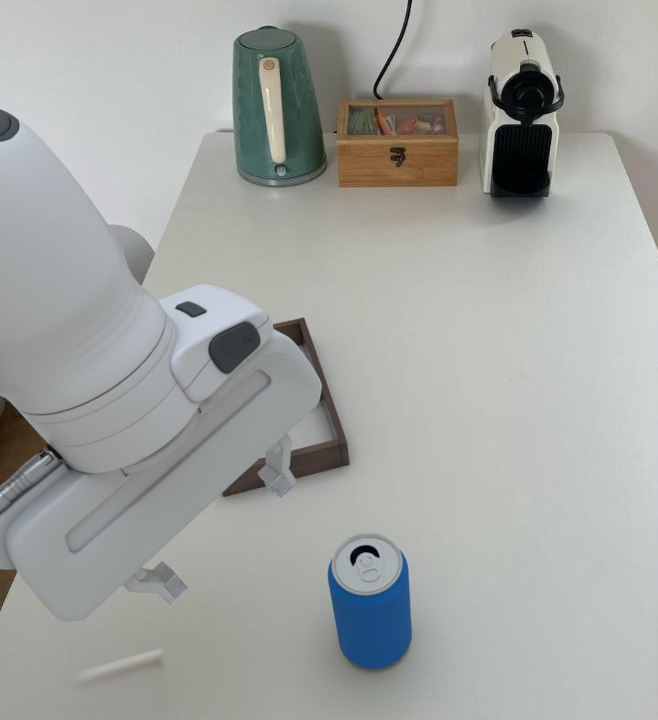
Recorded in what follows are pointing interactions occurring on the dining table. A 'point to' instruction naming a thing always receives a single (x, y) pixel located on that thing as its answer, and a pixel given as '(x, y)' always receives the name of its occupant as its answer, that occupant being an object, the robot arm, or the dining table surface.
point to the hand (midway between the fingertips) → (230, 537)
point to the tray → (311, 456)
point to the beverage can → (371, 600)
